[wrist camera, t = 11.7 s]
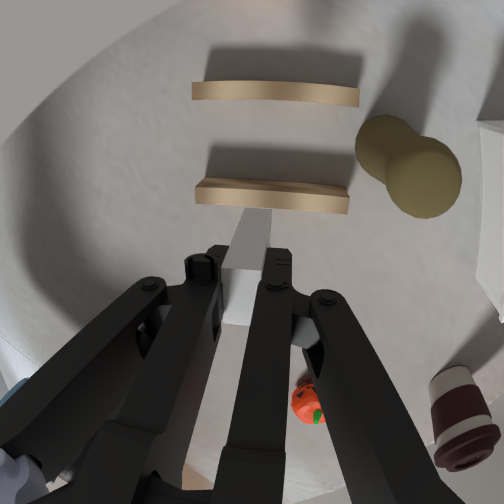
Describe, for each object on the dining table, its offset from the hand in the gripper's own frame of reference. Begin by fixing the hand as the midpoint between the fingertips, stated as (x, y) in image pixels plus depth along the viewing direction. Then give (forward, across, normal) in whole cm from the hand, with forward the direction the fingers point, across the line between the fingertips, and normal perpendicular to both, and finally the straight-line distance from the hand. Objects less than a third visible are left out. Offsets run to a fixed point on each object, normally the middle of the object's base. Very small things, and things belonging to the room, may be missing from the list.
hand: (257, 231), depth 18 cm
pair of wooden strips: (+12, 0, +4) cm, 12 cm away
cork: (+11, +10, +4) cm, 16 cm away
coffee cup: (+12, +29, -27) cm, 42 cm away
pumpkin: (+13, +8, -29) cm, 33 cm away
